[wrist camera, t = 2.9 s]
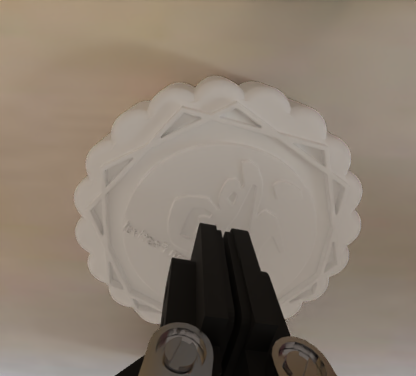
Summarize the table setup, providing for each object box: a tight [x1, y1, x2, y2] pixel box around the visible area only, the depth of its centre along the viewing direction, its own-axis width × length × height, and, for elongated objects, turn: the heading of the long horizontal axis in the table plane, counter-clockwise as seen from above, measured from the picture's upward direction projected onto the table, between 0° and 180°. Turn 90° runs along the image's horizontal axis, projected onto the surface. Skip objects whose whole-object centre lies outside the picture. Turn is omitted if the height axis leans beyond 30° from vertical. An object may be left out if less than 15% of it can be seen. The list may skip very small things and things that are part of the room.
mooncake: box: [74, 76, 363, 324], centre depth 13 cm, size 12×12×4 cm
